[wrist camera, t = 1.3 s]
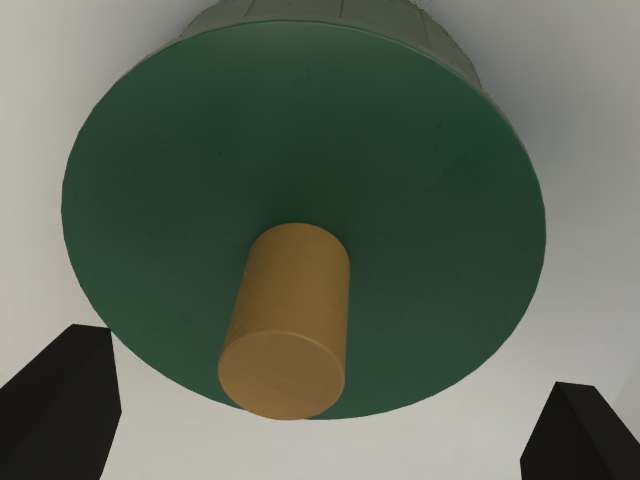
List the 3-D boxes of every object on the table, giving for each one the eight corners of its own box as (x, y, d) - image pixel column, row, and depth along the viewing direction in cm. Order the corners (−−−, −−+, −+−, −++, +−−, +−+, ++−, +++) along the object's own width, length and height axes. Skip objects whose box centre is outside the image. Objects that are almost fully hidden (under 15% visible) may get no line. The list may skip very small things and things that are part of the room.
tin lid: (632, 238, 15) (725, 389, 11) (317, 440, 20) (304, 591, 16) (277, -133, 11) (225, -103, 7) (0, 236, 16) (-118, 371, 12)
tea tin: (558, 149, 19) (616, 252, 14) (326, 325, 23) (315, 444, 19) (303, -120, 15) (275, -92, 11) (91, 153, 20) (10, 250, 15)
